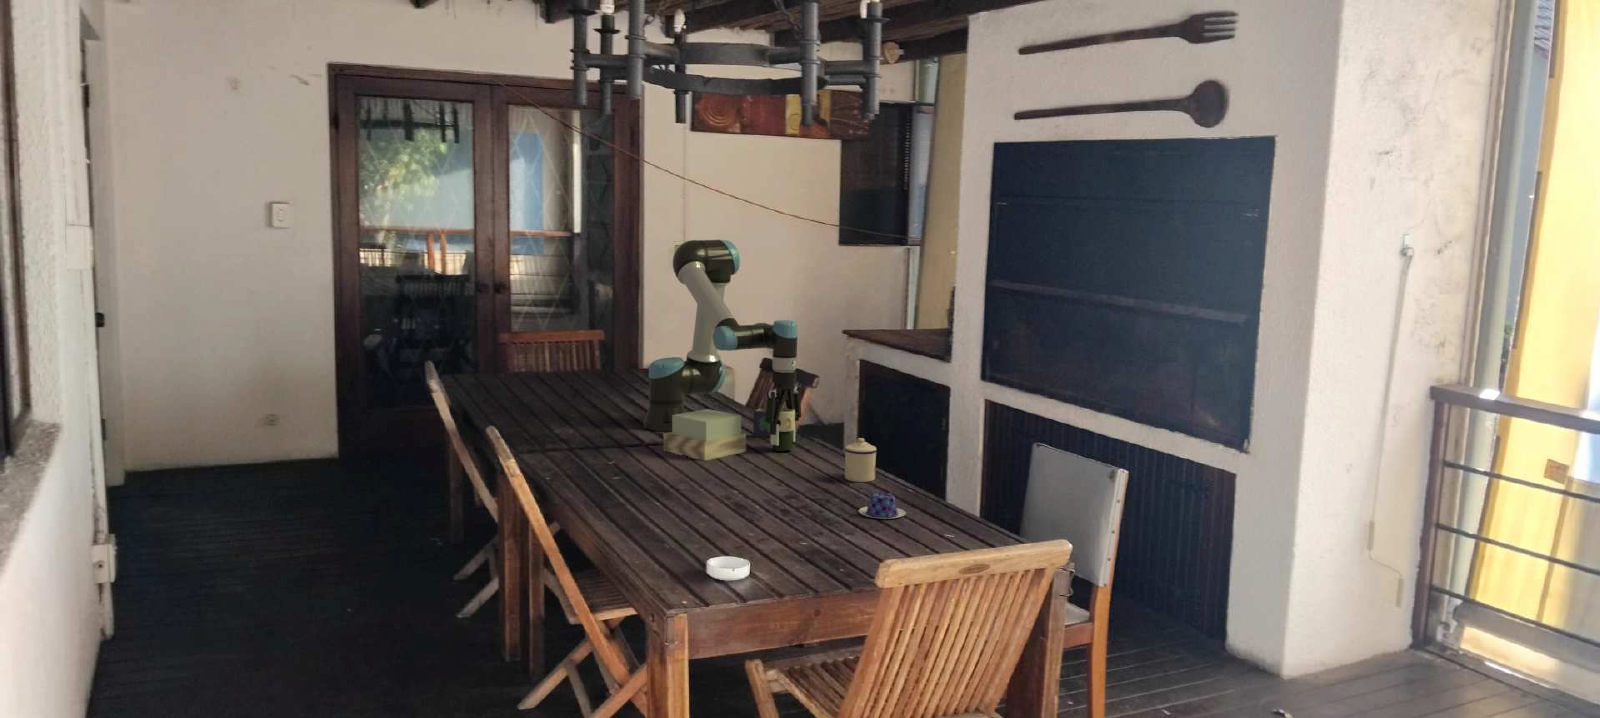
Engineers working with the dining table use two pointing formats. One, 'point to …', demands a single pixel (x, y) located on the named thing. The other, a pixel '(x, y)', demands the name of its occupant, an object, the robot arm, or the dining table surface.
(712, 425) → the tower top
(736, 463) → the dining table surface
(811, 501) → the dining table surface
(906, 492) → the dining table surface
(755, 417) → the flask
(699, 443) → the tower base
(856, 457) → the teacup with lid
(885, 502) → the pudding
